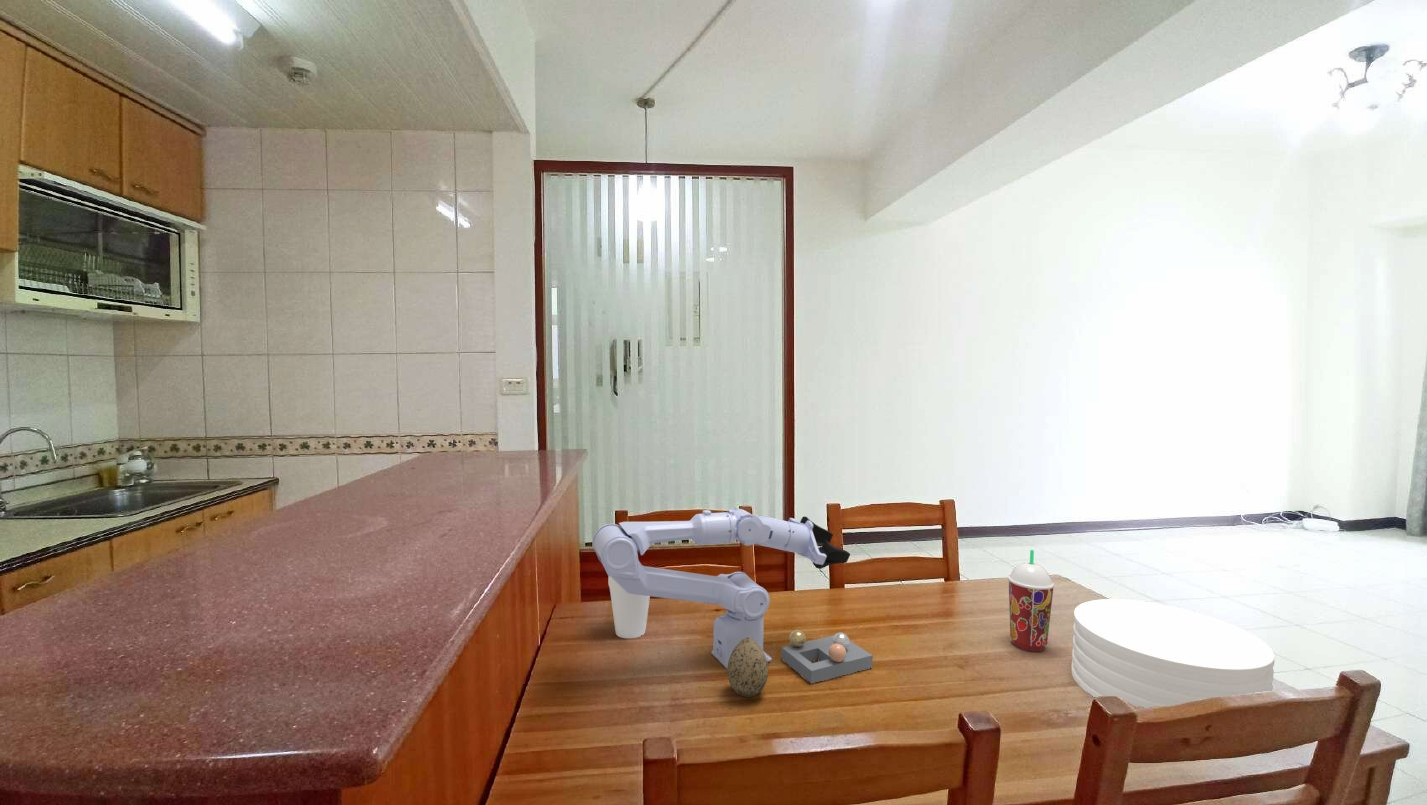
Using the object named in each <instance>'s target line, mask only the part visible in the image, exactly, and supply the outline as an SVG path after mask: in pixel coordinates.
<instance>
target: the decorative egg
mask: <svg viewBox="0 0 1427 805" xmlns="http://www.w3.org/2000/svg"><path fill="white" fill-rule="evenodd" d="M763 651H764V649H763V650H762V649H761V647H760V646H759V645H758V644H757V643H756V642H755V641H754V640H753V639H751V638H748V637H747V638H744V639H742V640H741V641H740V642H739V643H738V644H737V645H736V646H735V648H734V649H733V651H732V653H731V655H730V658H729V661H728V666H727V668H726V673H727V679H728V680H727V681H729V684H730V686H731V688H732V689H733V691H734V692H736V693H737V694H738V695H740V696H742V697H745V698H746V697H747V698H749V697H753V696H756V695H758V694H759V693H760V692H762V690H763V689H764V688H765V686H766V684H767V681H768V678H769V665H768V662H767V660H766V657H765V654H764V652H765V651H764V652H763Z"/></svg>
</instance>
